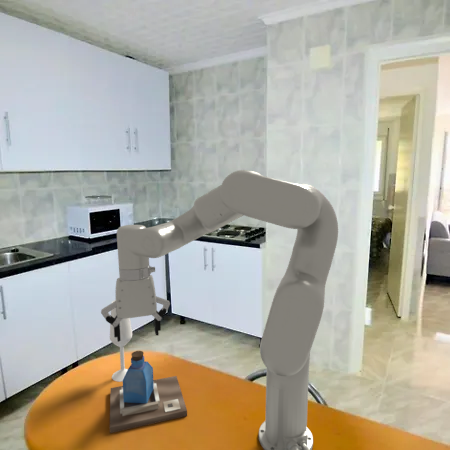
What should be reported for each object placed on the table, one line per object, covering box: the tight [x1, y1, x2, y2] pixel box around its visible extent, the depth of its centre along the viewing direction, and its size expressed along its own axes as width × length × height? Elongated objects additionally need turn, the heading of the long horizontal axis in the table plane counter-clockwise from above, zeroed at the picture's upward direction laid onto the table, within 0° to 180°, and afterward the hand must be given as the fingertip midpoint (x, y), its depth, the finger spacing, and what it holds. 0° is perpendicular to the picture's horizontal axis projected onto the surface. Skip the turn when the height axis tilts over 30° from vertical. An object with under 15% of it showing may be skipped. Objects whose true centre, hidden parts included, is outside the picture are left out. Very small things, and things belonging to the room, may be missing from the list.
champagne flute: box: [109, 299, 133, 383], centre depth 102 cm, size 7×7×24 cm
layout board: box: [109, 375, 188, 434], centre depth 90 cm, size 16×19×3 cm
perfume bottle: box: [122, 350, 154, 403], centre depth 89 cm, size 6×6×12 cm
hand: (138, 336), depth 87 cm, fingers open, 9 cm apart
